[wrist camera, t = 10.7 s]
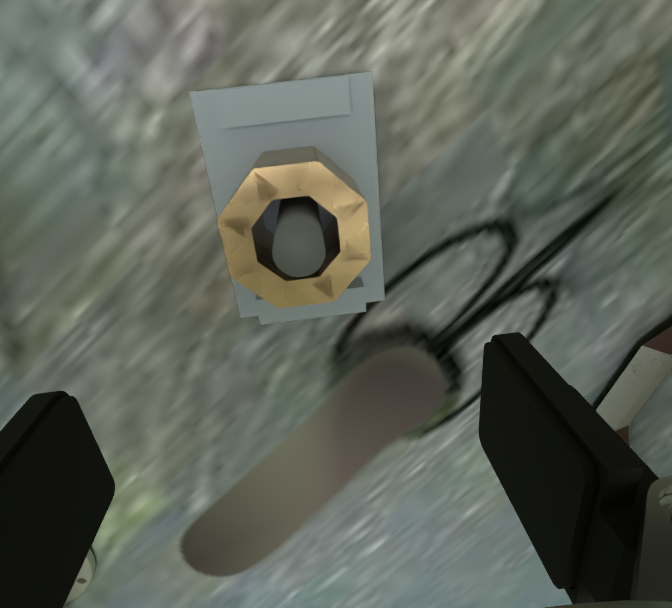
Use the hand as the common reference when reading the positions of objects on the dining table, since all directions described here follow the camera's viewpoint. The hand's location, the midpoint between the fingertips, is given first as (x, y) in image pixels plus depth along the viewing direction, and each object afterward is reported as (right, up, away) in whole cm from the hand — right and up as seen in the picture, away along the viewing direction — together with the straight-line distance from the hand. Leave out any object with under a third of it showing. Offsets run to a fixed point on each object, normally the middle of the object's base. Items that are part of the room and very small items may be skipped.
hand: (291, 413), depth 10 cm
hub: (-1, +8, +17) cm, 19 cm away
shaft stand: (-1, +9, +18) cm, 20 cm away
